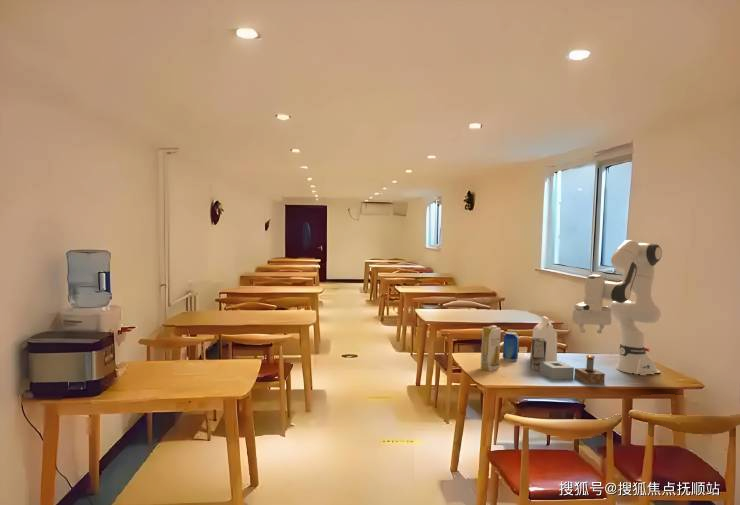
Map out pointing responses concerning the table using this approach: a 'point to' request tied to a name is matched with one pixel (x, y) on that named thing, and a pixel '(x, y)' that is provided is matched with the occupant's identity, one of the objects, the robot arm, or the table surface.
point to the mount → (589, 376)
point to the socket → (556, 370)
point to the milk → (547, 338)
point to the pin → (590, 363)
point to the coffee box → (537, 352)
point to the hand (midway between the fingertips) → (590, 333)
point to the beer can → (510, 346)
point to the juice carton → (490, 348)
